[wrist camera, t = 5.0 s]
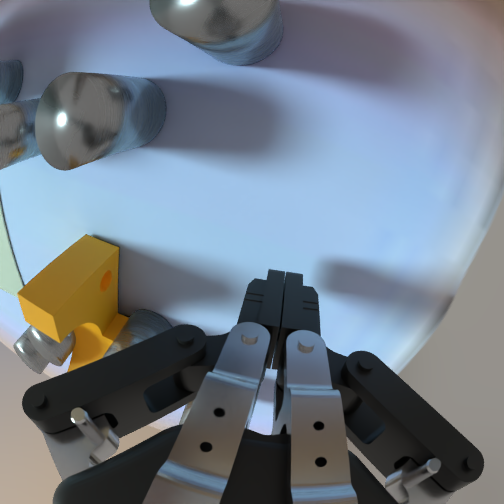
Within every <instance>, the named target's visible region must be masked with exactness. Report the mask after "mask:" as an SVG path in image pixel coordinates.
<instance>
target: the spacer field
mask: <svg viewBox="0 0 504 504" xmlns="http://www.w3.org/2000/svg"><path fill="white" fill-rule="evenodd" d="M150 9H151V13H152V15H153V17H154V19H155V20H156V21H157V23H158V24H159V25H160V26H162V27H163V28H165V29H166V30H168V31H170V32H172V33H173V34H175V35H177V36H179V37H181V38H182V39H184V40H186V41H187V42H189V43H191V44H192V45H194V46H196V47H197V48H199V49H201V50H202V51H204V52H205V53H207V54H209V55H210V56H212V57H213V58H215V59H216V60H218V61H220V62H222V63H225V64H230V65H249V64H253V63H256V62H259V61H261V60H263V59H265V58H266V57H268V56H269V55H270V54H272V53H273V52H274V51H275V50H276V48H277V47H278V45H279V43H280V42H281V39H282V35H283V24H282V18H281V12H280V6H279V0H150ZM22 79H23V68H22V64H21V63H20V61H18V60H11V61H0V170H1V169H3V168H6V167H8V166H11V165H13V164H16V163H19V162H21V161H24V160H27V159H29V158H32V157H35V156H38V155H41V154H42V156H43V157H44V159H45V160H46V161H47V162H48V163H49V164H50V165H51V166H53V167H54V168H56V169H59V170H71V169H74V168H76V167H79V166H82V165H84V164H87V163H90V162H93V161H95V160H98V159H101V158H104V157H107V156H110V155H113V154H116V153H120V152H123V151H126V150H129V149H133V148H136V147H139V146H143V145H145V144H147V143H149V142H150V141H151V140H153V139H154V138H155V137H156V135H157V134H158V133H159V131H160V130H161V128H162V126H163V124H164V121H165V117H166V101H165V97H164V95H163V93H162V91H161V89H160V88H159V87H158V86H157V85H156V84H155V83H154V82H152V81H150V80H148V79H144V78H137V77H129V76H120V75H111V74H99V73H83V72H69V73H65V74H62V75H60V76H59V77H57V78H56V79H55V80H53V81H52V82H51V83H50V84H49V86H48V87H47V88H46V90H45V91H44V93H43V95H42V97H41V98H38V99H31V100H24V101H18V102H14V101H15V100H16V98H17V96H18V94H19V91H20V88H21V85H22ZM171 328H173V327H172V326H171V325H170V323H169V322H168V321H167V320H165V319H164V318H163V317H162V316H160V315H158V314H156V313H154V312H152V311H148V310H137V311H135V312H134V313H133V314H132V315H131V316H130V318H129V319H128V321H127V322H126V323H125V325H124V326H123V328H122V329H121V331H120V332H119V334H118V335H117V336H116V338H115V339H114V341H113V342H112V344H111V345H110V347H109V348H108V350H107V351H106V353H105V354H104V356H103V357H102V358H104V357H106V356H109V355H111V354H113V353H116V352H118V351H121V350H123V349H125V348H128V347H130V346H132V345H135V344H137V343H139V342H141V341H144V340H146V339H148V338H151V337H153V336H155V335H157V334H160V333H162V332H164V331H166V330H169V329H171ZM75 344H76V336H75V333H74V330H73V331H71V332H70V333H69V334H68V335H67V336H66V337H65V338H64V340H63V341H62V342H61V343H59V342H57V341H55V340H54V339H52V338H51V337H49V336H47V335H46V334H44V333H43V332H41V331H40V330H38V329H37V328H35V327H34V326H32V325H31V326H30V327H29V328H28V329H27V330H26V331H25V332H24V333H23V335H22V336H21V337H20V338H19V339H18V340H17V341H16V343H15V344H14V349H15V351H16V353H17V354H18V356H19V357H20V358H21V359H22V361H23V362H24V363H25V364H26V365H27V366H28V367H29V368H30V369H32V370H33V371H34V372H36V373H38V374H41V373H42V372H43V370H44V369H45V367H46V366H47V365H48V363H49V362H50V363H52V364H54V365H56V366H62V365H63V363H64V362H65V360H66V359H67V358H68V356H69V355H70V354H71V352H72V351H73V349H74V347H75ZM193 402H194V400H193V401H191V402H189V403H187V404H186V406H185V409H184V412H183V414H182V417H181V420H180V423H179V425H182V424H184V422H185V420H186V418H187V415H188V413H189V411H190V409H191V407H192V404H193Z"/></svg>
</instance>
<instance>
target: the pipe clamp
mask: <svg viewBox="0 0 504 504" xmlns="http://www.w3.org/2000/svg"><path fill="white" fill-rule="evenodd" d="M118 264H119V247H117V246H114V245H112V244H109V243H107V242H104V241H102V240H99V239H97V238H94V237H92V236H89V235H87V234H86V235H85V236H83V237H82V238H81V239H79V240H78V241H77V242H76V243H74V244H73V245H72V246H70V247H69V248H68V249H67V250H65V251H64V252H63V253H62V254H61V255H59V256H58V257H57V258H56V259H55V260H53V261H52V262H51V263H50V264H49V265H47V266H46V267H45V268H44V269H43V270H42V271H41V272H39V273H38V274H37V275H36V276H35V277H34V278H33V279H32V280H31V281H29V282H28V283H27V284H26V285H25V286H24V287H23V288H22V289H21V290H20V291H19V292H18V293H17V295H18V298H19V302H20V305H21V308H22V312H23V315H24V318H25V321H26V322H28V323H29V324H31V325H32V326H34V327H35V328H37V329H38V330H40V331H41V332H43V333H44V334H46V335H47V336H49V337H51V338H52V339H54V340H55V341H57V342H59V343H61V342H62V341H63V340H64V338H65V337H66V336H67V335H68V334H69V333H70V332H71V331H73V330H74V333H75V336H76V344H75V347H74V349H73V352H72V357H71V361H70V365H69V368H68V371H67V372H69V371H72V370H74V369H77V368H79V367H82V366H84V365H87V364H89V363H92V362H94V361H97V360H99V359H101V358H102V357H103V356H104V354H105V353H106V351H107V350H108V348H109V347H110V345H111V344H112V342H113V341H114V339H115V338H116V336H117V335H118V334H119V332H120V331H121V329H122V328H123V326H124V325H125V323H126V322H127V321H128V319H129V318H128V317H126V316H124V315H121V314H119V313H118Z"/></svg>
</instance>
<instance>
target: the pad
mask: <svg viewBox="0 0 504 504" xmlns="http://www.w3.org/2000/svg"><path fill="white" fill-rule="evenodd" d="M23 287H24V285H23V282H22V279H21V276H20V274H19V271H18V268H17V265H16V261H15V258H14V255H13V252H12V248H11V245H10V241H9V237H8V233H7V229H6V225H5V221H4V216H3V211H2V206H1V201H0V289H2V290H4V291H6V292H8V293H10V294H12V295H13V296H15V297H17V298H18V295H17V293H18V292H19V291H20V290H21V289H22V288H23Z"/></svg>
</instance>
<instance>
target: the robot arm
mask: <svg viewBox="0 0 504 504" xmlns="http://www.w3.org/2000/svg"><path fill="white" fill-rule="evenodd" d="M284 278H285V281H284ZM318 304H319V301H318V294H317V293H316V291H315V290H314V288H313V287H309V286H303V274H298V273H291V272H286V276H285V272H284V271H278V270H271V269H269V271H268V276H267V280H262V279H256V278H255V279H254V280H253V281H252V282H251V283H249V284H248V287H247V291H246V294H245V298H244V301H243V305H242V308H241V312H240V315H239V319H238V322H237V325H235V326H234V327H233V328H232V329H231V331H230V332H228V333H226V334H223V335H217V336H206V335H205V333H204V332H203V331H202V330H201V329H200V328H198V327H196V326H193V325H188V324H184V325H178V326H175V327H173V328H171V329H169V330H166V331H164V332H162V333H160V334H157V335H155V336H153V337H151V338H148V339H146V340H144V341H141V342H139V343H137V344H135V345H132V346H130V347H128V348H125V349H123V350H121V351H118V352H116V353H113V354H111V355H109V356H106V357H104V358H101V359H99V360H97V361H94V362H92V363H89V364H87V365H84V366H82V367H79V368H77V369H74V370H72V371H69V372H67V373H64V374H62V375H59V376H57V377H54V378H51V379H49V380H46V381H44V382H41V383H38V384H36V385H33V386H31V387H30V388H29V389H28V390H27V391H26V392H25V394H24V396H23V401H22V406H23V410H24V412H25V414H26V415H27V416H28V417H29V418H30V419H31V420H32V421H33V422H34V423H35V424H36V426H37V427H38V428H39V429H40V430H41V431H42V433H43V435H44V438H45V440H46V443H47V446H48V448H49V450H50V453H51V456H52V458H53V460H54V463H55V465H56V467H57V470H58V472H59V474H60V476H61V478H62V480H63V481H62V482H61V483H60V484H59V486H58V487H57V489H56V491H55V493H54V497H53V504H446V502H447V501H448V500H449V499H450V497H451V496H452V495H453V493H454V492H455V491H457V490H459V489H461V488H463V487H464V486H466V485H468V484H470V483H472V482H473V481H475V480H477V479H478V478H479V476H480V475H481V473H482V471H483V468H484V459H483V456H482V454H481V452H480V451H479V450H478V449H477V448H476V447H475V446H474V445H473V444H472V443H471V442H469V441H468V440H467V439H466V438H465V437H464V436H463V435H462V434H460V432H458V430H457V429H455V428H454V427H453V426H452V425H451V424H450V423H449V422H448V421H447V420H446V419H445V418H443V417H442V416H441V415H440V414H439V413H438V412H437V411H436V410H435V409H434V408H433V407H431V406H430V405H429V404H428V403H427V402H426V401H425V400H424V399H423V398H422V397H420V395H418V394H417V393H416V392H415V391H414V390H413V389H412V388H411V387H410V386H409V385H407V384H406V383H405V382H404V381H403V380H402V379H401V378H400V377H399V376H398V375H396V374H395V373H394V372H393V371H392V370H391V369H390V368H389V367H388V366H387V365H385V364H384V363H383V362H382V361H381V360H380V359H379V358H378V357H377V356H375V355H374V354H372V353H370V352H367V351H356V352H353V353H351V354H350V355H349V356H348V357H346V356H343V355H341V354H338V353H336V352H333V351H332V350H330V349H329V348H327V347H326V344H325V342H324V340H323V339H322V337H321V333H320V316H319V305H318ZM273 354H274V356H273ZM272 358H273V364H272V369H277V370H278V371H277V378H276V382H275V386H274V412H273V429H272V434H271V435H262V434H260V433H257V432H254V431H252V430H249V425H250V422H251V418H252V415H253V411H254V407H255V404H256V400H257V397H258V393H259V389H260V386H261V382H262V381H263V379H264V376H265V371H266V368H269V369H270V367H271V363H272ZM193 400H194V402H193V404H192V407H191V409H190V411H189V413H188V415H187V418H186V420H185V422H184V424H182V425H177V426H173V427H170V428H168V429H165V430H163V431H161V432H159V433H158V434H156V435H154V436H152V437H150V438H149V439H147V440H145V441H143V442H141V443H139V444H138V445H136V446H134V447H132V448H130V449H128V450H126V451H124V452H122V453H120V454H118V455H116V456H114V457H112V458H110V459H108V460H106V459H107V458H109V457H110V456H112V455H113V454H114V453H115V452H116V451H117V449H118V447H119V438H121V437H123V436H125V435H127V434H129V433H132V432H134V431H136V430H138V429H140V428H141V427H144V426H146V425H148V424H150V423H152V422H154V421H156V420H158V419H160V418H162V417H164V416H165V415H167V414H169V413H171V412H173V411H175V410H177V409H178V408H180V407H182V406H184V405H186V404H187V403H189V402H191V401H193ZM346 436H347V437H348V438H349V440H350V441H351V442H352V443H353V444H354V445H355V446H356V447H357V448H358V449H359V450H360V451H361V453H362V454H363V455H364V456H365V457H366V458H367V459H368V460H369V461H370V462H371V463H372V464H373V465H374V466H375V467H376V468H377V469H378V470H379V471H380V472H381V473H382V474H383V475H384V476H385V477H386V482H385V488H384V487H383V485H382V484H381V483H380V482H379V481H378V480H377V479H376V478H375V477H374V475H373V474H372V473H371V472H370V471H369V470H368V469H367V468H366V466H365V465H364V464H363V463H362V462H361V461H360V460H359V458H358V457H357V456H355V455H354V454H353V453H352V452H351V451H349V450H348V447H347V438H346ZM105 460H106V461H105Z"/></svg>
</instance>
